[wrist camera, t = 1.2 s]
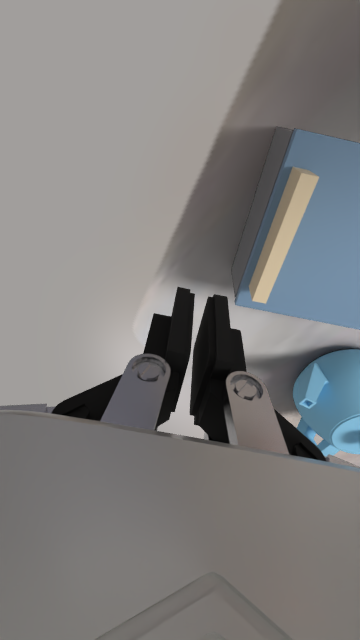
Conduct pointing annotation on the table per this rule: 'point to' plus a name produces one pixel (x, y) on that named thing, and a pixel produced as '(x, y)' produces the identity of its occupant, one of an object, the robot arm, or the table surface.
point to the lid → (310, 235)
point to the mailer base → (260, 202)
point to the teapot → (331, 401)
